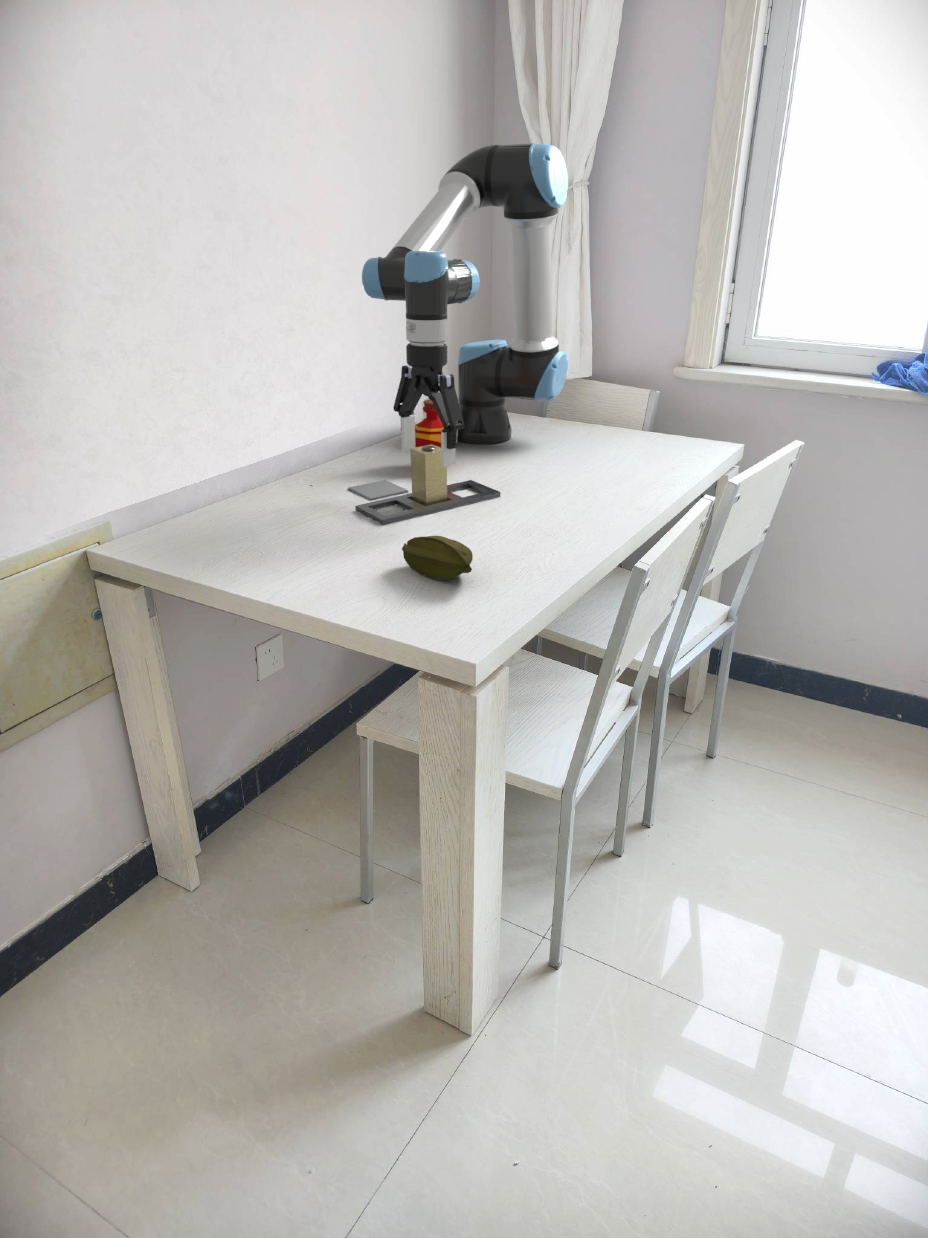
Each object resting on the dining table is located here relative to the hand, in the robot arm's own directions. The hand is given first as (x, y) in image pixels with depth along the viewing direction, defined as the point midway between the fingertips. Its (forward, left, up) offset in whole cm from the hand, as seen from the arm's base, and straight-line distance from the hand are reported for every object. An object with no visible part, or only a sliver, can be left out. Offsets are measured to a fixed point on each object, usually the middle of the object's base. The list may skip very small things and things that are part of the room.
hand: (428, 457), depth 164 cm
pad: (-13, -4, -9) cm, 17 cm away
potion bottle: (-19, +14, -10) cm, 26 cm away
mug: (-35, +28, -10) cm, 46 cm away
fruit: (+30, -19, -10) cm, 37 cm away
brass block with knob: (0, 0, -10) cm, 9 cm away
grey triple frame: (0, 0, -9) cm, 9 cm away
